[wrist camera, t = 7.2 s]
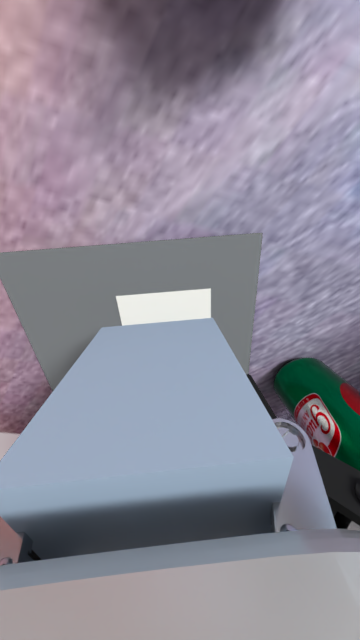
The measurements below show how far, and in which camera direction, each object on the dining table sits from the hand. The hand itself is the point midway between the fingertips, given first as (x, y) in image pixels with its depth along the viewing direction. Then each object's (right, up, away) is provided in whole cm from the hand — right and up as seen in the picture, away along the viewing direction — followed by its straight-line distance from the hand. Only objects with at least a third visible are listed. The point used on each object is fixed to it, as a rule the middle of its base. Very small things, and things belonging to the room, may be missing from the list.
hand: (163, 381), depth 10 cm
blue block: (0, 0, +1) cm, 1 cm away
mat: (-2, +2, +5) cm, 6 cm away
